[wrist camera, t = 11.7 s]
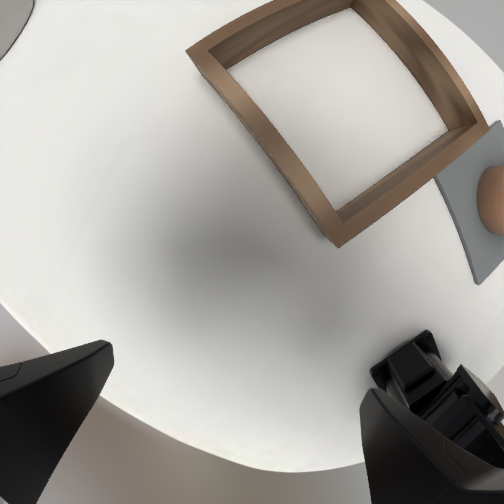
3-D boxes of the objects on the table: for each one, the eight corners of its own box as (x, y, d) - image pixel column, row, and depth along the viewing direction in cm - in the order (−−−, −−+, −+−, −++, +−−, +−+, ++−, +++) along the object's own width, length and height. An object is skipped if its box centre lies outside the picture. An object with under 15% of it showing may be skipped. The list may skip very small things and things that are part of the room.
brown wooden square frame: (461, 136, 16) (490, 129, 12) (325, 236, 19) (338, 248, 15) (350, -3, 14) (361, -29, 10) (200, 73, 17) (185, 50, 13)
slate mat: (531, 219, 16) (534, 220, 16) (475, 283, 19) (478, 285, 18) (496, 121, 15) (500, 120, 14) (432, 174, 17) (435, 174, 16)
